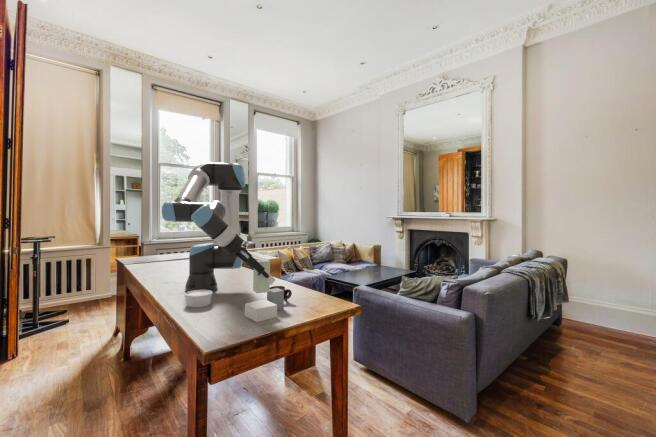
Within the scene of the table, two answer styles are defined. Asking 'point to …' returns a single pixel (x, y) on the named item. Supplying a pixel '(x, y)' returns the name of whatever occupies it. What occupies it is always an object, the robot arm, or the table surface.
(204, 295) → the ramekin
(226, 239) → the robot arm
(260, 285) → the sage block
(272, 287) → the pottery mug
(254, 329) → the table surface
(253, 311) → the base block
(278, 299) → the slate block
